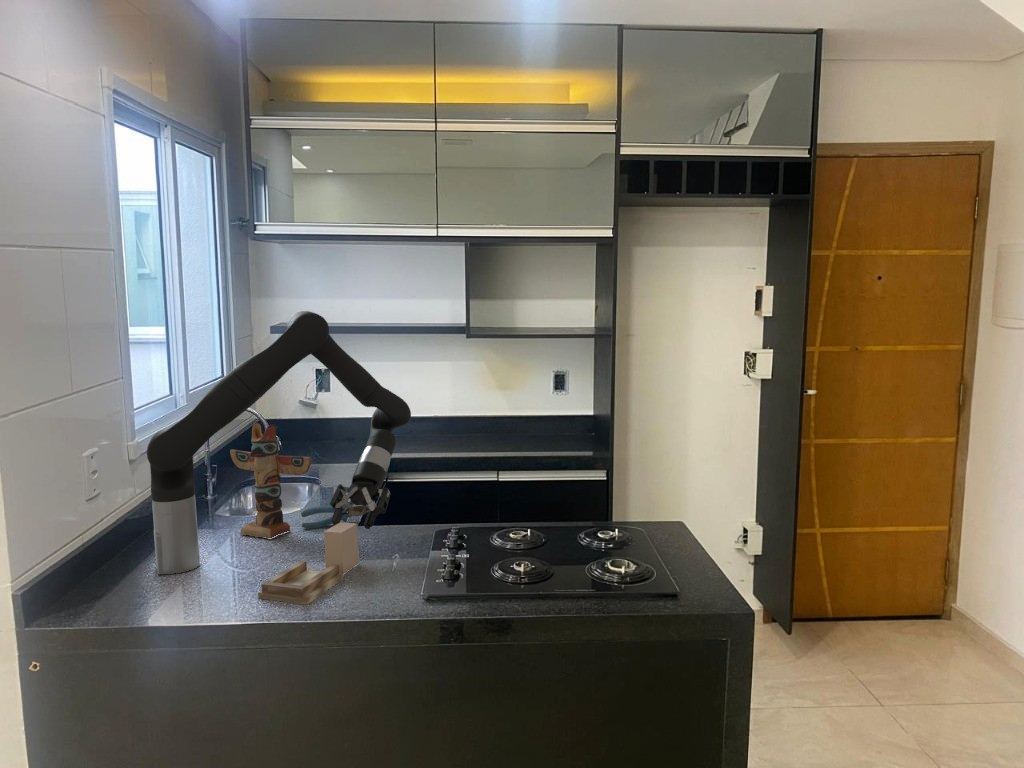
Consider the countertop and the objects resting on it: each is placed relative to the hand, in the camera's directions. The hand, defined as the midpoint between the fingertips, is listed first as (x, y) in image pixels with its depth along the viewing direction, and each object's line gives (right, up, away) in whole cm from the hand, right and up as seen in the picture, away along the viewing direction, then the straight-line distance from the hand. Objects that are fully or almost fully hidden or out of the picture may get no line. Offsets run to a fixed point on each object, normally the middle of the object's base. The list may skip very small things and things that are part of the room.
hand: (350, 526), depth 167 cm
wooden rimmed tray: (-7, -11, -14) cm, 19 cm away
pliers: (-11, -6, +31) cm, 33 cm away
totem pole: (-29, -7, +24) cm, 38 cm away
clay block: (-1, -9, -3) cm, 10 cm away
